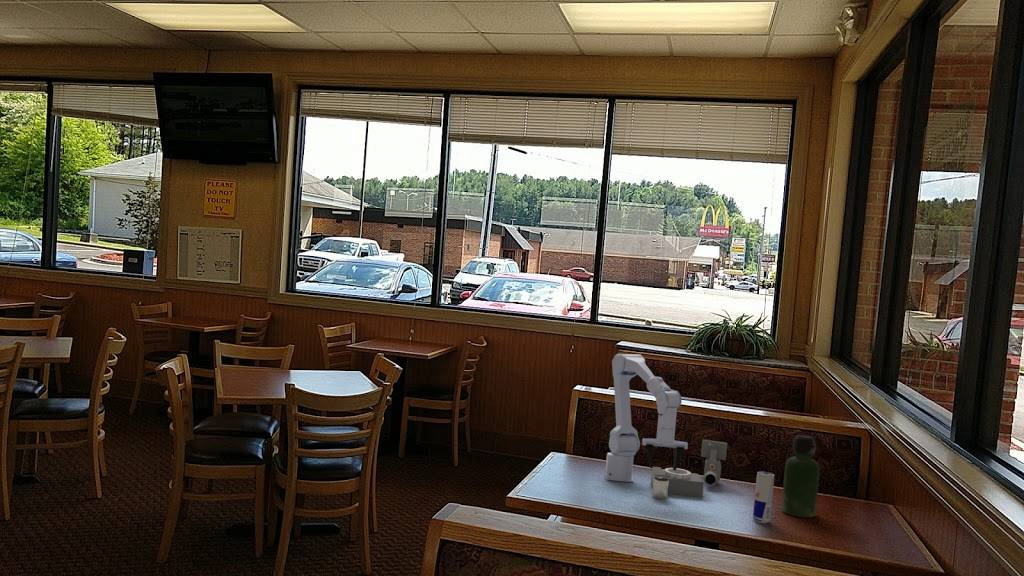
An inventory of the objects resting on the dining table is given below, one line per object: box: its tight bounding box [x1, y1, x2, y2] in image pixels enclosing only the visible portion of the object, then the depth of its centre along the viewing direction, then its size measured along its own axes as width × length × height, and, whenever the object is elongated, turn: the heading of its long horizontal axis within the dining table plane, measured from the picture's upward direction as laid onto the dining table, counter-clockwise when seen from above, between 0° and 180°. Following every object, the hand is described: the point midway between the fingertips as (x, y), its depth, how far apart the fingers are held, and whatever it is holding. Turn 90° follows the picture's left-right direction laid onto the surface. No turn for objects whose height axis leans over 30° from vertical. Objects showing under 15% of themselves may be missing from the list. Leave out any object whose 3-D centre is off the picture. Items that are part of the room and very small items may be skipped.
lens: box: [651, 476, 669, 501], centre depth 266 cm, size 5×5×7 cm
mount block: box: [650, 466, 705, 498], centre depth 276 cm, size 16×11×6 cm
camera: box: [700, 439, 728, 487], centre depth 287 cm, size 9×12×15 cm
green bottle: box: [780, 434, 821, 519], centre depth 260 cm, size 10×10×25 cm
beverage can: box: [752, 471, 775, 524], centre depth 248 cm, size 5×5×15 cm
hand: (662, 468), depth 265 cm, fingers open, 7 cm apart
